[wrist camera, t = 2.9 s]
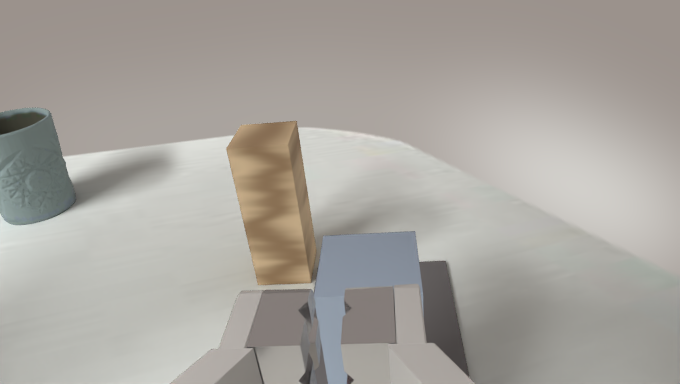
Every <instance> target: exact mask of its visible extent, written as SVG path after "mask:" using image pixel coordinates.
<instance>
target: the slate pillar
mask: <svg viewBox="0 0 680 384" xmlns="http://www.w3.org/2000/svg"><path fill="white" fill-rule="evenodd" d="M404 284H418V285H419V286H420V293H421V301H422V309H423V289H422V281H421V274H420V266H419V258H418V250H417V242H416V234H415V231H410V232H390V233H370V234H350V235H330V236H323V241H322V248H321V254H320V261H319V267H318V273H317V280H316V286H315V292H314V298H315V303H316V305H315V308H316V314H317V320H318V321H319V328H320V338H321V344H322V350H323V356H324V362H325V368H326V374H327V380H328V384H347V373H346V372H345V371H344V366H343V358H342V351H341V332H342V318H343V316H344V315H345V305H344V294H345V289H346V288H355V287H377V286H393V289H394V285H404ZM394 303H395V302H394ZM423 317H424V312H423Z"/></svg>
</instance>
